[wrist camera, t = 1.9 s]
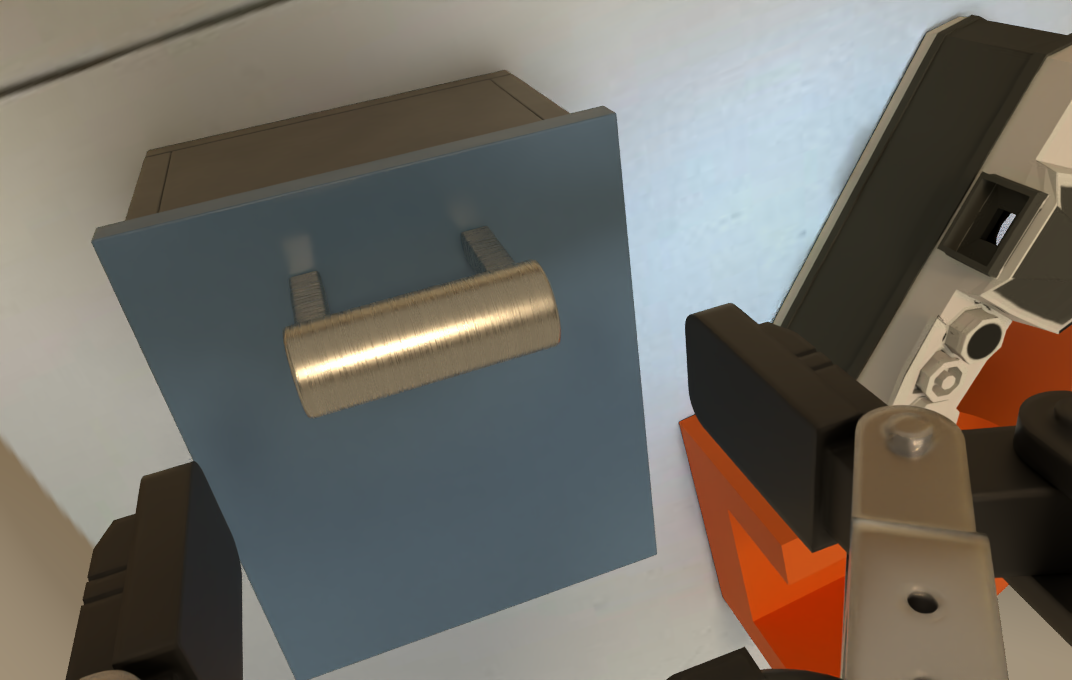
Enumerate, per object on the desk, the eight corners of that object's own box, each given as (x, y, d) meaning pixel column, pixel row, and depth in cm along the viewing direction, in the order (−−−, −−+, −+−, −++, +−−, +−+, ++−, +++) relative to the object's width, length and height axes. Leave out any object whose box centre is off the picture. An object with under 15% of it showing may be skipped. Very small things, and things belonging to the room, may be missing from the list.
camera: (874, 390, 40) (1042, 523, 32) (738, 357, 37) (887, 498, 28) (1065, 72, 35) (1328, 131, 26) (927, -5, 31) (1183, 36, 23)
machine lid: (95, 227, 17) (47, 347, 13) (603, 104, 20) (714, 170, 15) (295, 663, 25) (309, 835, 20) (647, 538, 27) (729, 668, 23)
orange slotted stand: (722, 596, 44) (814, 730, 37) (678, 421, 37) (781, 545, 30) (1006, 457, 46) (1144, 558, 39) (1015, 266, 39) (1183, 349, 32)
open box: (146, 150, 25) (111, 260, 18) (505, 68, 27) (606, 136, 20) (280, 485, 32) (295, 661, 25) (558, 398, 34) (646, 537, 27)
